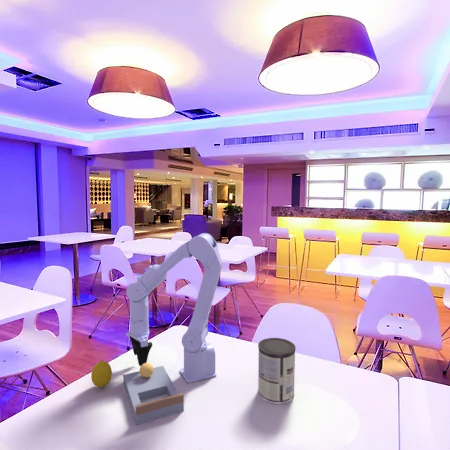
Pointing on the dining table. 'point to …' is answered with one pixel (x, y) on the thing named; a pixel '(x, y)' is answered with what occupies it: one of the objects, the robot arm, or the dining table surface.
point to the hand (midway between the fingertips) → (140, 359)
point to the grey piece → (152, 395)
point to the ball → (146, 370)
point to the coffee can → (276, 370)
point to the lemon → (101, 374)
